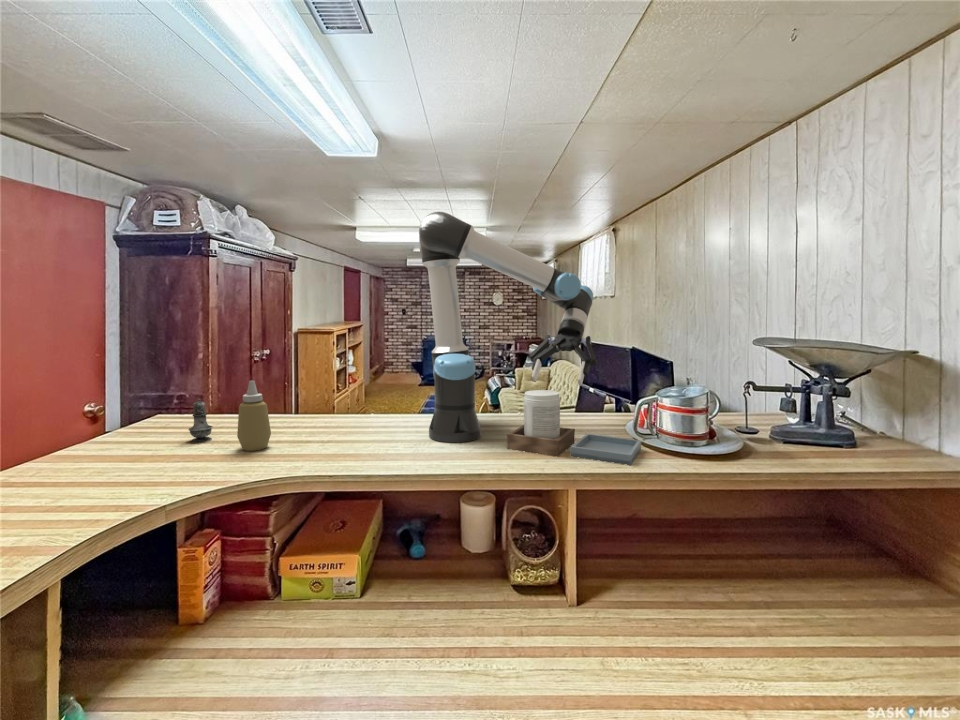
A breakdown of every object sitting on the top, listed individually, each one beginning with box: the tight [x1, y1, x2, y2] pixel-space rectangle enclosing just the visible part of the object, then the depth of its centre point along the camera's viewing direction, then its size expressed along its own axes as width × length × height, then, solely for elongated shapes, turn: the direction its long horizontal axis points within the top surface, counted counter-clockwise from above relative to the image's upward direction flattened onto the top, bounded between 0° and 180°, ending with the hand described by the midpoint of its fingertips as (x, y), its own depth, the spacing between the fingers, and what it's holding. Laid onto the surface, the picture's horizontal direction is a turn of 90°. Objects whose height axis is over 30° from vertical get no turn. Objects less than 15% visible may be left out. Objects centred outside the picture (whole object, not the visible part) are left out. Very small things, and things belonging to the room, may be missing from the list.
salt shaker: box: [187, 398, 214, 444], centre depth 132 cm, size 6×6×12 cm
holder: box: [506, 424, 576, 458], centre depth 128 cm, size 14×14×4 cm
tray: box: [570, 433, 642, 466], centre depth 122 cm, size 15×15×2 cm
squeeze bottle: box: [236, 380, 272, 452], centre depth 125 cm, size 8×8×18 cm
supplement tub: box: [523, 389, 561, 440], centre depth 127 cm, size 10×10×15 cm
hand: (555, 381), depth 135 cm, fingers open, 13 cm apart
